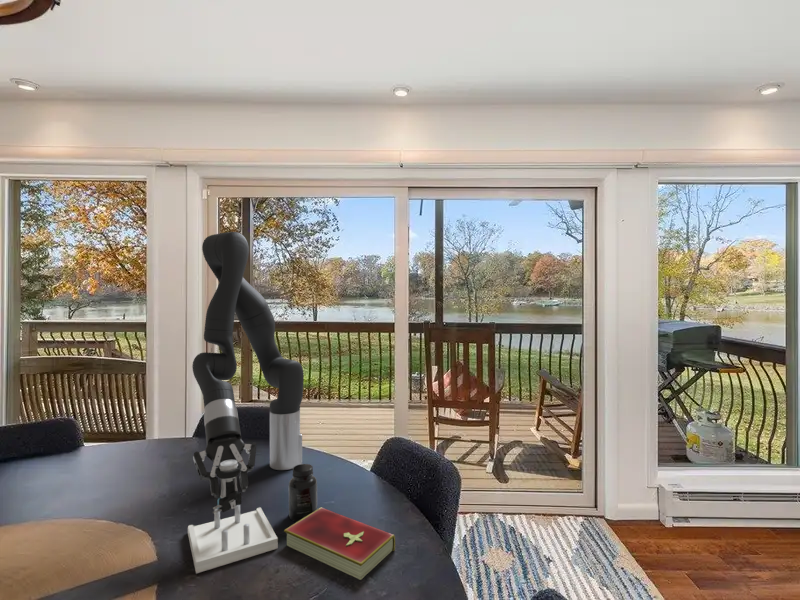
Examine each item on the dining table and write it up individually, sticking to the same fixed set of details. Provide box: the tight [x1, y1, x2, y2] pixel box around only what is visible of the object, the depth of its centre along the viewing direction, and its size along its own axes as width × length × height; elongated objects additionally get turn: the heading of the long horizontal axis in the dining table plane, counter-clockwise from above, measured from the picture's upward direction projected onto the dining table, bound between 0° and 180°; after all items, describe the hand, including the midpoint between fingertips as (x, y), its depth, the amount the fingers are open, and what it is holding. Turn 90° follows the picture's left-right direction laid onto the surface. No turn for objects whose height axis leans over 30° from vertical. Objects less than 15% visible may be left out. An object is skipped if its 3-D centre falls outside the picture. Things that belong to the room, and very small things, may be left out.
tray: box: [187, 504, 279, 574], centre depth 96 cm, size 16×16×5 cm
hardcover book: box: [283, 507, 396, 581], centre depth 94 cm, size 12×21×4 cm, turn 58°
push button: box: [212, 459, 242, 514], centre depth 95 cm, size 7×5×10 cm
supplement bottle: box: [288, 463, 318, 523], centre depth 106 cm, size 7×7×12 cm
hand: (230, 493), depth 94 cm, fingers closed on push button, 5 cm apart
